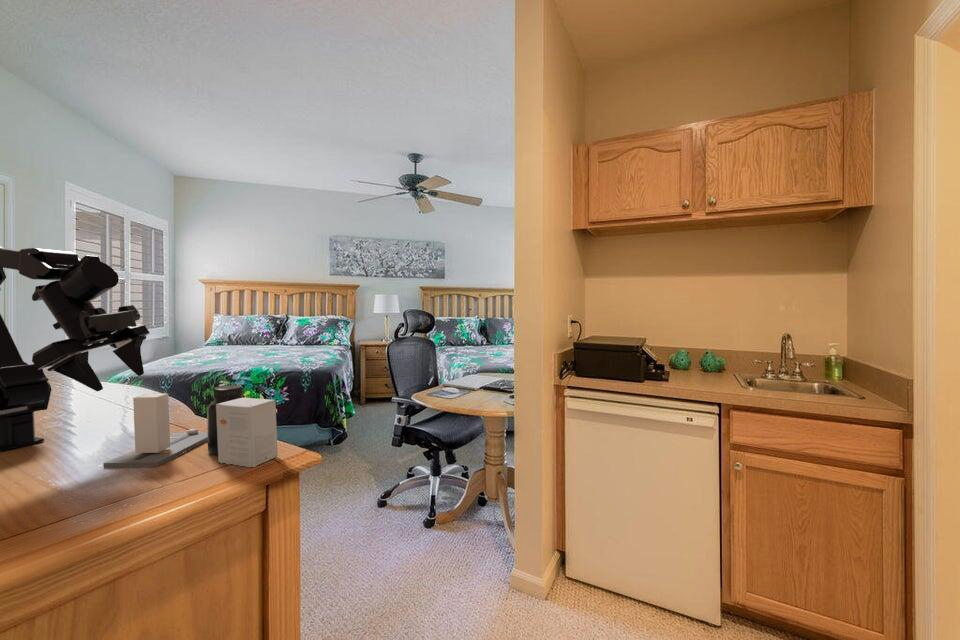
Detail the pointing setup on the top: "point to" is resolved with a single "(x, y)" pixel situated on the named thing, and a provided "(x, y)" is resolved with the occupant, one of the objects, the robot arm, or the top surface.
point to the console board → (177, 446)
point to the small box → (246, 431)
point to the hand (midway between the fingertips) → (122, 382)
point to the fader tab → (151, 423)
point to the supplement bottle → (220, 396)
